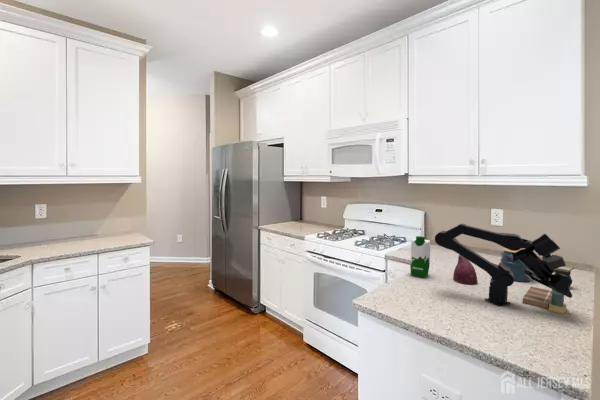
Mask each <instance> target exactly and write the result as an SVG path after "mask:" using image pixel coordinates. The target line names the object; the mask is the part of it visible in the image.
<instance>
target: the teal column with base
mask: <svg viewBox="0 0 600 400" xmlns="http://www.w3.org/2000/svg"><path fill="white" fill-rule="evenodd" d="M551 291H552V298H551V302H550V304H549V307H548V311H549V312H552V313H553V312H554V313H557V314H560V315H561V314H562V315H566V314H565V313H566V312H567V303H564V302H565V301H564V300H565V295H563V294H561V293H559V292H557V291H555V290H553V289H551Z"/></svg>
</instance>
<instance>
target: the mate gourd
mask: <svg viewBox="0 0 600 400" xmlns="http://www.w3.org/2000/svg"><path fill="white" fill-rule="evenodd" d="M574 269H575V267H573V268H570V269H566V268H561V267H559V268H557V269H555V270H556V271H555V272H554V273H553V274H554V275H557V274H564V275H566V276H569V277H570V278H571V279H572V277H571V273H572V272H571V271H572V270H574ZM571 285H573V282H572V283H570V284H569V285H568V287H569V288H570V287H571Z"/></svg>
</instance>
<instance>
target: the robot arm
mask: <svg viewBox="0 0 600 400" xmlns="http://www.w3.org/2000/svg"><path fill="white" fill-rule="evenodd" d="M461 235H466V236H469V237H472V238H477V239H481V240H484V241H488V242H491V243H494V244H497V245H499V246H500V247H502V248H507V249H509V250H512V251H517V250H519V249H521V248H525V249H521V250H519V251H517V252H515V253H513V252H512V253H511V259H512V261H513V262H515V261H516V260H518V259H519V260H520V261H521V262H522V263H523V264H524V266H525V268H526V269H525V270H524V274H525V275H526V276H527V277H529V278H530V280H533V281H535V282H537V283H539V284H541V285H542V286H545V287H547V288H549V289H550V290H552V289H553V290H555V291H557V292H559V293H561V294H563V295H564V297H567V298H569V299H571V298H572V297H573V294H572V292H571V289H570V287H568V285H569V284H570V283H572V284H573V279H572V277H571V278H570V277H569V276H566V275H564V274H557V275H554V274H555V271H556V270H555V269H557V268H562V267H566V266H567V265H566V262H565V259H564V257H563V256H560V255H558V254H553V253H555V252H557V251H559V250H560V249H561V247H560V246H559V245H558V244H557V243H556V241H555V240H553V239H551V238H550V237H549V236H548V235H547V234H546V233H543V234H541V235H540V236H539V237H537V238H535V239H534V240H529V239H525V238H523V237H521V236H520V235H519V234H516V233H509V232H495V231H491V230H487V229H483V228H479V227H476V226H471V225H467V224H465V223H459V224H458V225H456V226H454V227H452V228H450V229H449V230H441V231H439V232H438V233H436V234H435V236H434V242H435V243H436V245H438V246H440V247H442V248H444V249H446V250H450V251H453V252H455V254H456V253H457V254H458V255H459V254H460V255H461V256H463V257H464V258H466V259H467V260H469V261H470V262H471V264H474V265H475V266H477V267H478V268H479V269H481V270H483V271H484V272H486V273H487V274H488V275H489V276H490V277H491V278H490V280H489V287H488V297H486V298H484V301H486V302H489V303H491V304H493V305H496V306H498V307H501V306H507V305H511V303H512V302H510V301H508V293H509V292H508V288H509V287H511V286H512V285H513V284H514V282H515V281H514V275H513V272H512V271H511V270H510V268H508V267H506V266H504V265H503V264H502V263H501V262H499V263H498V264H496V263H494V262H491V261H490V260H488V259H486V258H484V256H481V254H478V253H477V252H476V251H474V250H472V249H470V248H469V247H467V246H465V245H464V244H462V243H461V242H459V240H458V239H457V237H459V236H461ZM540 256H542V259H541V258H540Z"/></svg>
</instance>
